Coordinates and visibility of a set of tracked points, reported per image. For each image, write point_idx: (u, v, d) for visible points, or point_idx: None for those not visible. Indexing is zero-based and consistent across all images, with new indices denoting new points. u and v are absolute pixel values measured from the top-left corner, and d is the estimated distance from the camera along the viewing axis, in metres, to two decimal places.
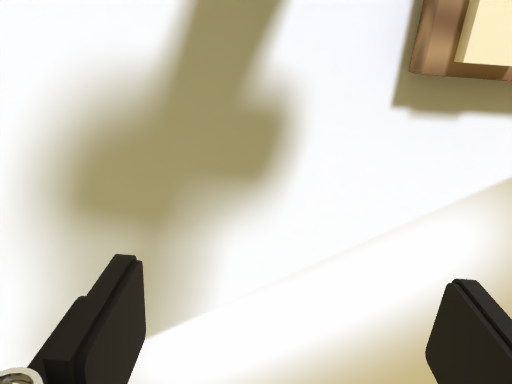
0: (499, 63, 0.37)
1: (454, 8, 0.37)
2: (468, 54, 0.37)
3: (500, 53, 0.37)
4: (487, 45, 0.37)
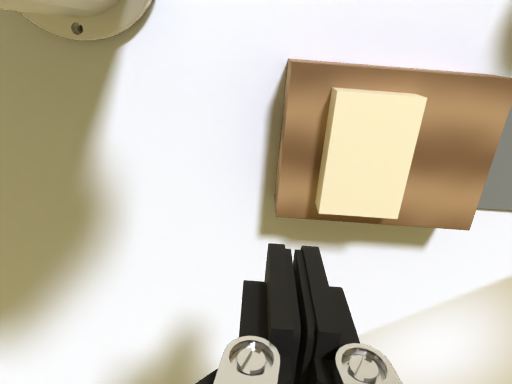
0: (366, 214, 0.28)
1: (307, 141, 0.28)
2: (324, 204, 0.28)
3: (366, 203, 0.27)
4: (348, 193, 0.27)
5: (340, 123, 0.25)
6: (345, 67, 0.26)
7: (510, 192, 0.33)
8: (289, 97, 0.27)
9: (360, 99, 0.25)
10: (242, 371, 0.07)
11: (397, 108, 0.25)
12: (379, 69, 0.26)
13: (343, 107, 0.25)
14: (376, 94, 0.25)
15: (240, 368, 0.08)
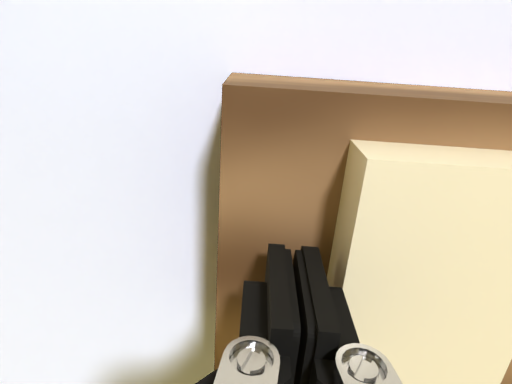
0: None
1: (267, 251, 0.13)
2: None
3: None
4: None
5: (373, 232, 0.10)
6: (348, 96, 0.11)
7: None
8: (222, 163, 0.12)
9: (424, 178, 0.10)
10: (242, 371, 0.07)
11: None
12: (427, 100, 0.11)
13: (381, 196, 0.10)
14: (465, 166, 0.10)
15: (240, 368, 0.08)
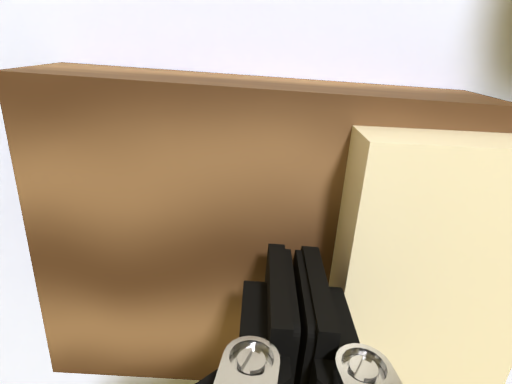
0: None
1: (76, 239, 0.13)
2: None
3: (432, 373, 0.13)
4: (392, 356, 0.12)
5: (377, 217, 0.10)
6: (121, 83, 0.11)
7: None
8: (12, 150, 0.12)
9: (429, 160, 0.10)
10: (242, 371, 0.07)
11: None
12: (202, 87, 0.11)
13: (385, 180, 0.10)
14: (469, 147, 0.10)
15: (240, 368, 0.08)
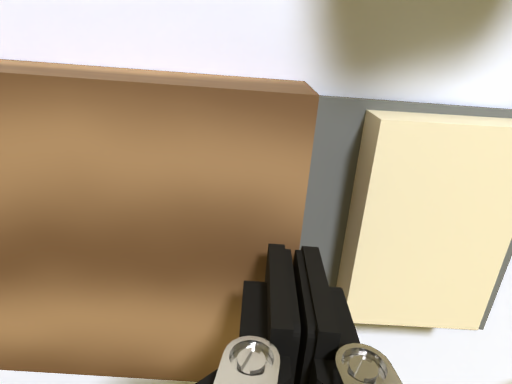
0: None
1: None
2: None
3: None
4: None
5: None
6: None
7: None
8: None
9: None
10: (242, 371, 0.07)
11: None
12: None
13: None
14: (450, 116, 0.15)
15: (240, 368, 0.08)
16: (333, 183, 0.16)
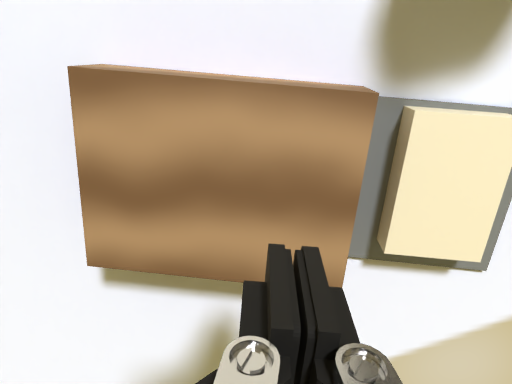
0: None
1: (107, 171, 0.21)
2: None
3: None
4: None
5: None
6: (138, 74, 0.19)
7: None
8: (73, 113, 0.20)
9: None
10: (242, 371, 0.07)
11: None
12: (184, 77, 0.19)
13: None
14: (461, 110, 0.22)
15: (240, 368, 0.08)
16: (379, 156, 0.23)
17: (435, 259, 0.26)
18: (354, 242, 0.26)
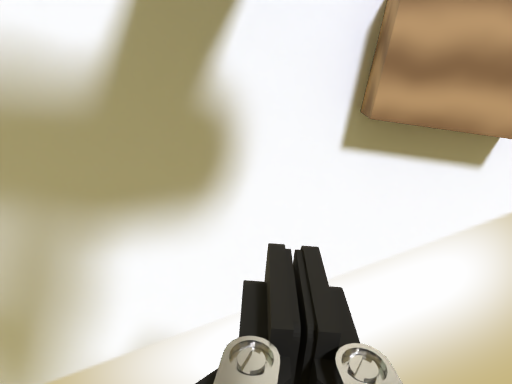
0: None
1: (406, 51, 0.34)
2: None
3: None
4: None
5: None
6: None
7: None
8: (398, 11, 0.33)
9: None
10: (242, 371, 0.07)
11: None
12: None
13: None
14: None
15: (240, 368, 0.08)
16: None
17: None
18: None
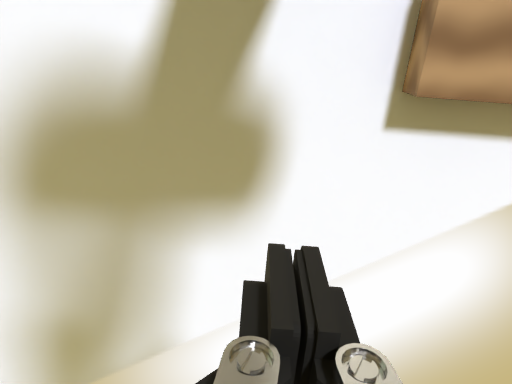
0: None
1: (451, 26, 0.34)
2: None
3: None
4: None
5: None
6: None
7: None
8: None
9: None
10: (242, 371, 0.07)
11: None
12: None
13: None
14: None
15: (240, 368, 0.08)
16: None
17: None
18: None
